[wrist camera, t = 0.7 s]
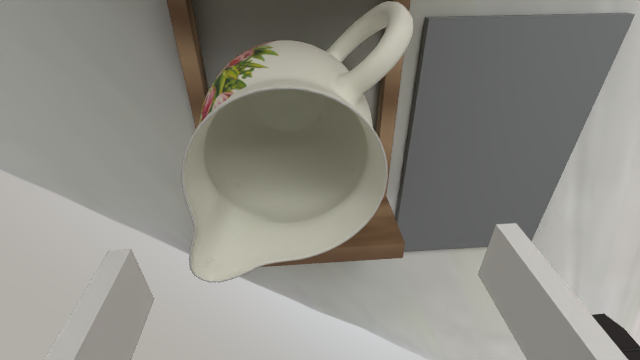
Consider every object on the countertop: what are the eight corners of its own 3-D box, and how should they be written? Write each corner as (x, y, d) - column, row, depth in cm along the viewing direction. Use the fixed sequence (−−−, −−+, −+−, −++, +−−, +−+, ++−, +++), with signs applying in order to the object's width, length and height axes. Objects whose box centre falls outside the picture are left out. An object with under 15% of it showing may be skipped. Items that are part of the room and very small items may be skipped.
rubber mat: (425, 17, 26) (429, 18, 25) (626, 12, 27) (635, 14, 26) (391, 247, 39) (392, 252, 39) (525, 239, 40) (529, 243, 40)
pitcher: (422, 45, 27) (520, 114, 16) (280, 190, 34) (276, 314, 22) (318, -71, 22) (350, -91, 11) (177, 124, 29) (106, 237, 18)
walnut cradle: (150, -105, 21) (86, -131, 14) (416, -105, 22) (472, -129, 15) (218, 208, 34) (202, 270, 28) (381, 199, 35) (402, 257, 29)
